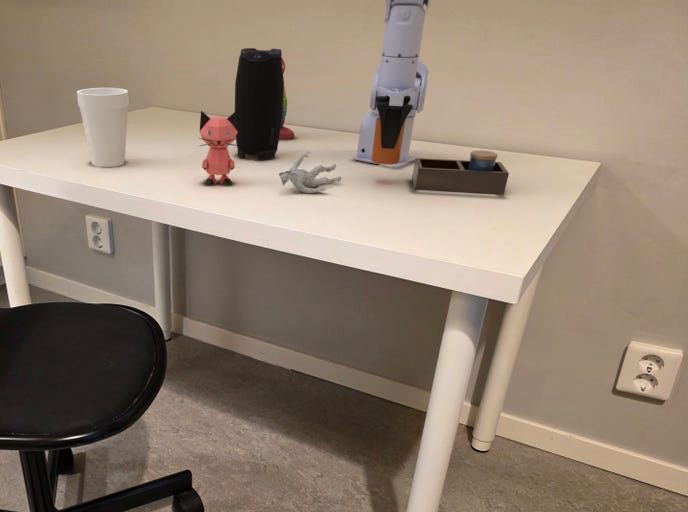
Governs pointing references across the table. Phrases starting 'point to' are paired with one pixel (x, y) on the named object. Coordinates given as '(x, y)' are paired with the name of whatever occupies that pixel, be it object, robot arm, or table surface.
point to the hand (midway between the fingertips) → (387, 144)
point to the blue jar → (482, 160)
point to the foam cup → (105, 124)
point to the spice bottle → (385, 154)
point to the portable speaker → (259, 102)
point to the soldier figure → (307, 177)
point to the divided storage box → (458, 177)
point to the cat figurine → (218, 146)
